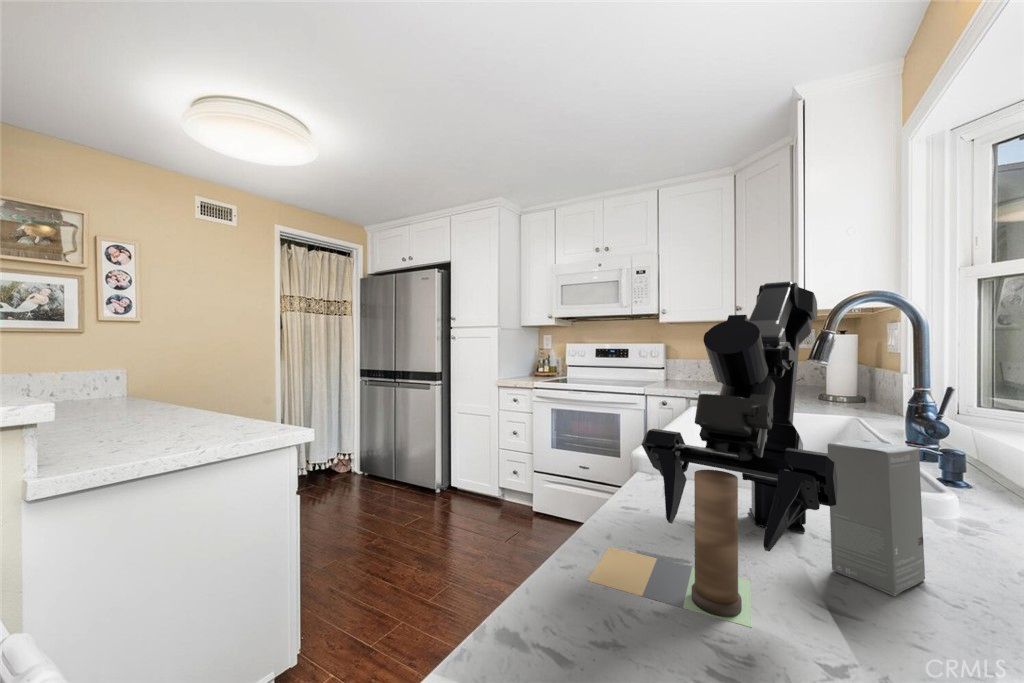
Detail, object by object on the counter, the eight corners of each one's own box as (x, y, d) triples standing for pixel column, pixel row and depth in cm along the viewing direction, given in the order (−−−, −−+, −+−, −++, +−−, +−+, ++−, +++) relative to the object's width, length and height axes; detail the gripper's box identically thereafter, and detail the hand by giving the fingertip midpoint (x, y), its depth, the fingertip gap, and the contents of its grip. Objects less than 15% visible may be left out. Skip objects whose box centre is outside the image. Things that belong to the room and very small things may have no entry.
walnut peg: (700, 615, 41) (700, 481, 41) (685, 588, 46) (685, 468, 46) (750, 618, 41) (749, 483, 41) (730, 591, 45) (729, 469, 45)
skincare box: (895, 599, 46) (895, 454, 46) (822, 568, 52) (823, 441, 52) (929, 580, 50) (929, 446, 50) (857, 553, 56) (857, 435, 56)
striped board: (587, 591, 47) (587, 580, 47) (609, 556, 55) (609, 546, 55) (751, 640, 39) (751, 627, 39) (750, 591, 47) (750, 580, 47)
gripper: (648, 364, 53) (603, 471, 45) (834, 371, 40) (821, 521, 32) (671, 418, 59) (636, 522, 50) (841, 439, 46) (831, 582, 38)
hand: (714, 534), depth 43 cm, fingers open, 9 cm apart
